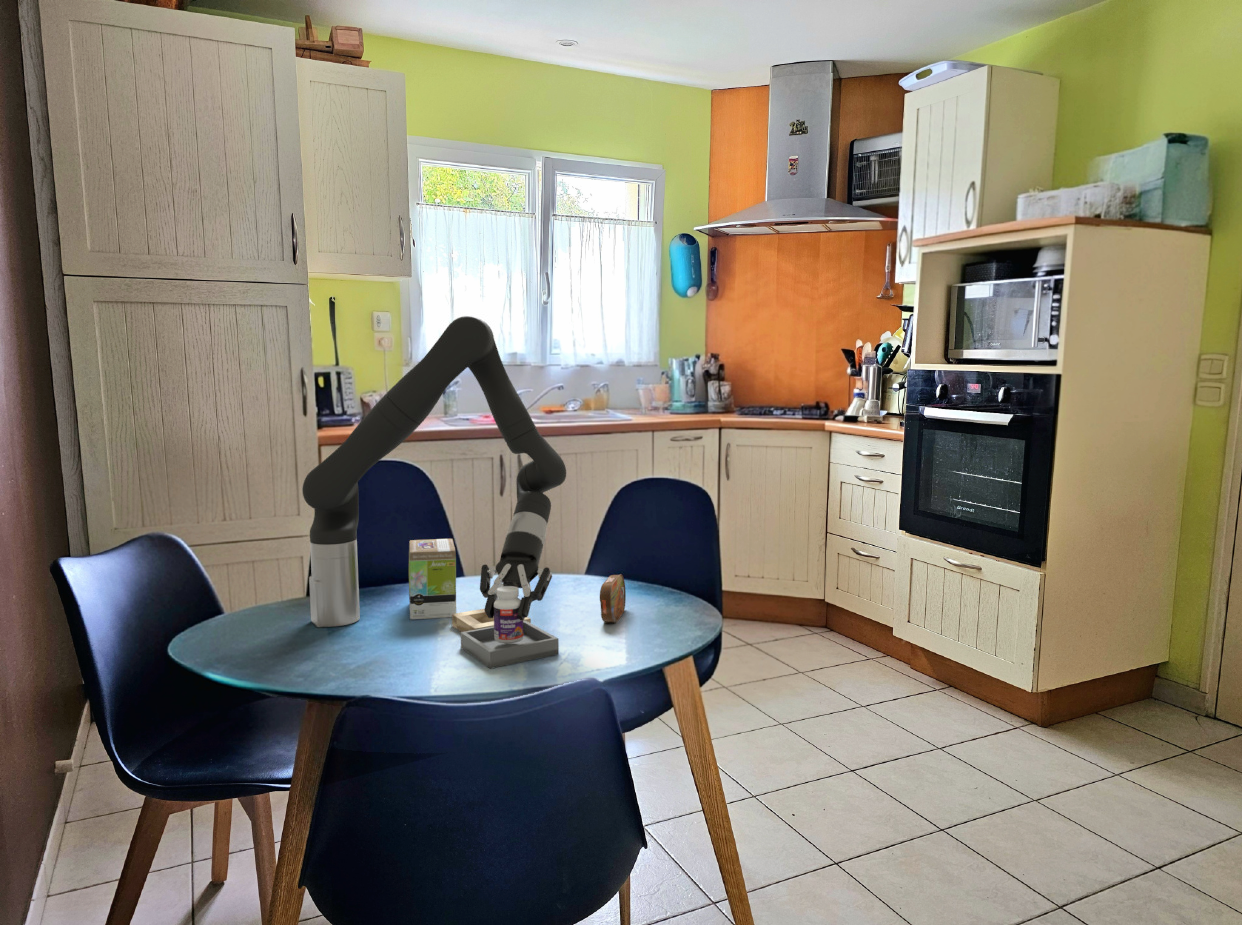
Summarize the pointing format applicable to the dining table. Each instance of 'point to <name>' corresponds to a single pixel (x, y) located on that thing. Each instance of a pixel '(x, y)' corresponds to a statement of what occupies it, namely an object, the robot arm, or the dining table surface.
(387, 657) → the dining table surface
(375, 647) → the dining table surface
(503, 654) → the charcoal tray
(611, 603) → the tin
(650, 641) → the dining table surface
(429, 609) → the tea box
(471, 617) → the oak collar
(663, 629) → the dining table surface
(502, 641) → the pill bottle
